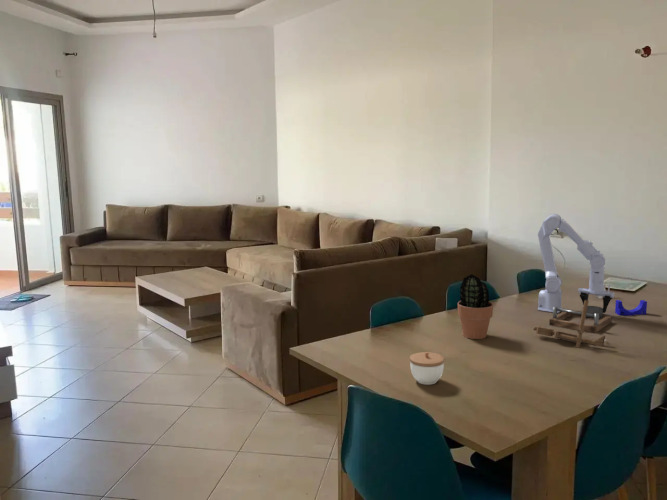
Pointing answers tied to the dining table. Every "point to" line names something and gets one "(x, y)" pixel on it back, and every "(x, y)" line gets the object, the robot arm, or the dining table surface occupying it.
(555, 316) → the metal handle
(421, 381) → the lidded jar
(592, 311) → the grey round dome
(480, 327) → the potted plant
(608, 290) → the architectural model
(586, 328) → the frame
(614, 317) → the dining table surface
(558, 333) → the wooden figure
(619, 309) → the blue curved piece
